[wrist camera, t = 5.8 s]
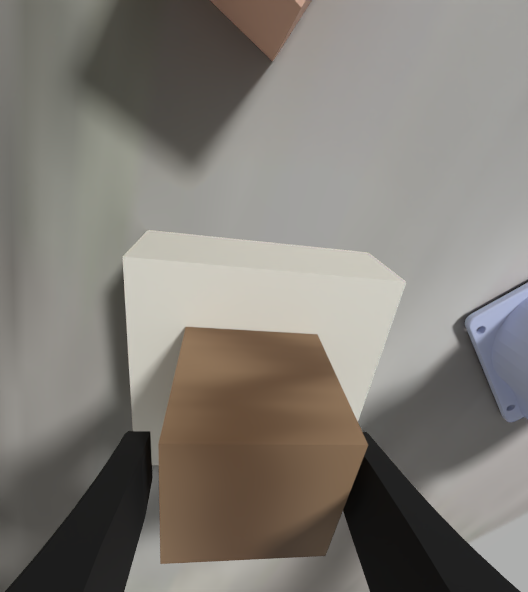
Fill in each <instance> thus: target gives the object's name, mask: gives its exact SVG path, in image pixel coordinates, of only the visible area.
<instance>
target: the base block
mask: <svg viewBox="0 0 528 592" xmlns="http://www.w3.org/2000/svg"><path fill="white" fill-rule="evenodd" d="M123 273H124V290H125V307H126V324H127V341H128V359H129V376H130V393H131V410H132V427H133V431H150V435H151V458H152V465H159V449H158V444H159V439H160V435H161V431H162V426H163V422H164V418H165V413H166V409H167V405H168V401H169V396H170V392H171V388H172V383H173V379H174V375H175V370H176V366H177V362H178V358H179V353H180V349H181V345H182V340H183V336H184V332H185V327H200V328H218V329H235V330H252V331H269V332H287V333H304V334H318V337H319V339H320V341H321V343H322V345H323V347H324V350H325V352H326V354H327V356H328V358H329V361H330V363H331V365H332V367H333V369H334V371H335V374H336V376H337V378H338V380H339V382H340V384H341V387H342V389H343V391H344V393H345V395H346V398H347V400H348V402H349V404H350V406H351V408H352V411H353V413H354V415H355V417H356V419H357V422H358V420H359V417H360V414H361V412H362V409H363V406H364V403H365V400H366V397H367V394H368V391H369V388H370V386H371V383H372V380H373V377H374V374H375V371H376V368H377V365H378V363H379V360H380V357H381V354H382V351H383V348H384V345H385V342H386V339H387V337H388V334H389V331H390V328H391V325H392V322H393V319H394V316H395V313H396V311H397V308H398V305H399V302H400V299H401V296H402V293H403V290H404V288H405V285H406V281H404V280H403V279H402V278H401V277H399V276H398V275H397V274H395V273H394V272H393V271H392V270H390V269H389V268H388V267H386V266H385V265H384V264H382V263H381V262H380V261H379V260H377V259H376V258H375V257H373V256H372V255H371V254H370V253H368V252H358V251H348V250H338V249H328V248H319V247H309V246H299V245H289V244H279V243H270V242H260V241H250V240H240V239H231V238H221V237H211V236H201V235H191V234H182V233H172V232H162V231H152V230H147V231H146V232H145V234H144V235H143V236H142V237H141V238H140V239H139V240H138V241H137V242H136V243H135V244H134V245H133V246H132V247H131V248H130V249H129V250H128V251H127V252H126V254H125V255H124V256H123Z"/></svg>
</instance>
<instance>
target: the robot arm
mask: <svg viewBox="0 0 528 592" xmlns="http://www.w3.org/2000/svg"><path fill="white" fill-rule="evenodd" d="M465 326H466V329H467V331H468V334H469V336H470V339H471V341H472V343H473V346H474V348H475V351H476V353H477V356H478V358H479V361H480V363H481V365H482V368H483V370H484V373H485V375H486V378H487V380H488V383H489V385H490V387H491V390H492V392H493V395H494V397H495V400H496V402H497V405H498V407H499V409H500V412H501V414H502V417H503V418H504V419H505V420H506V421H507V422H515V421H517V420H519V419H521V418H523V417H525V418H526V419H527V420H528V283H526V284H524V285H522V286H520V287H519V288H517V289H515V290H513V291H511V292H510V293H508V294H506V295H504V296H502V297H501V298H499V299H497V300H495V301H493V302H492V303H490V304H488V305H486V306H484V307H483V308H481V309H479V310H477V311H475V312H474V313H472V314H470V315H469V316H468V317H467V318H466V320H465ZM479 327H480V328H479ZM478 328H479V329H478ZM477 329H478V330H477ZM363 435H364V437H365V439H366V441H367V443H368V447H367V450H366V452H365V455H364V457H363V460H362V462H361V465H360V468H359V470H358V473H357V475H356V478H355V481H354V483H353V486H352V488H351V491H350V493H349V496H348V499H347V501H346V504H345V506H344V509H343V511H344V514H345V517H346V521H347V524H348V527H349V530H350V533H351V536H352V539H353V542H354V545H355V548H356V551H357V554H358V557H359V560H360V563H361V566H362V569H363V572H364V575H365V578H366V581H367V584H368V586H369V589H370V592H520V591H519V590H518V589H517V588H515V587H514V586H513V585H512V584H511V583H510V582H509V581H508V580H507V579H505V578H504V577H503V576H502V575H501V574H500V573H499V572H498V571H497V570H496V569H495V568H494V567H492V566H491V565H490V564H489V563H488V562H487V561H486V560H485V559H484V558H483V557H482V556H481V555H479V554H478V553H477V552H476V551H475V550H474V549H473V548H472V547H471V546H470V545H469V544H468V543H467V542H466V541H465V540H464V539H463V538H462V537H461V536H460V535H459V534H458V533H457V532H456V531H455V530H454V529H453V528H452V527H451V526H450V525H449V524H448V523H447V522H446V521H445V520H444V519H443V518H442V517H441V516H440V515H439V513H438V512H437V511H436V510H435V509H434V508H433V507H432V506H431V505H430V504H429V503H428V502H427V501H426V499H425V498H424V497H423V496H422V495H421V494H420V493H419V492H418V491H417V490H416V488H415V487H414V486H413V485H412V484H411V483H410V482H409V481H408V479H407V478H406V477H405V476H404V475H403V474H402V473H401V471H400V470H399V469H398V468H397V467H396V466H395V465H394V463H393V462H392V461H391V460H390V459H389V458H388V456H387V455H386V454H385V453H384V452H383V451H382V449H381V448H380V447H379V446H378V445H377V443H376V442H375V441H374V440H373V439H372V438H371V436H370V435H369V434H368V433H367V432H363ZM151 482H152V458H151V435H150V431H128V432H127V433H126V434H125V435H124V437H123V438H122V440H121V442H120V443H119V445H118V446H117V448H116V449H115V451H114V453H113V454H112V456H111V457H110V459H109V460H108V462H107V463H106V465H105V466H104V467H103V469H102V470H101V472H100V473H99V475H98V476H97V478H96V479H95V480H94V482H93V483H92V484H91V486H90V487H89V489H88V490H87V491H86V493H85V494H84V495H83V497H82V498H81V499H80V501H79V502H78V504H77V505H76V506H75V508H74V509H73V510H72V511H71V513H70V514H69V515H68V517H67V518H66V519H65V520H64V522H63V523H62V524H61V525H60V527H59V528H58V529H57V530H56V532H55V533H54V534H53V535H52V537H51V538H50V539H49V540H48V542H47V543H46V544H45V545H44V547H43V548H42V549H41V550H40V552H39V553H38V554H37V555H36V556H35V557H34V559H33V560H32V561H31V562H30V563H29V565H28V566H27V567H26V568H25V569H24V570H23V572H22V573H21V574H20V575H19V576H18V577H17V579H16V580H15V581H14V582H13V583H12V584H11V585H10V586H9V588H8V589H7V590H6V591H5V592H124V590H125V586H126V583H127V579H128V576H129V572H130V569H131V565H132V562H133V558H134V555H135V551H136V547H137V544H138V540H139V537H140V533H141V530H142V526H143V522H144V519H145V514H146V509H147V504H148V499H149V493H150V488H151Z"/></svg>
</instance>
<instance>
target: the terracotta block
mask: <svg viewBox="0 0 528 592" xmlns="http://www.w3.org/2000/svg"><path fill="white" fill-rule="evenodd" d="M210 1H211V2H212V3H213V4H214V5H215V6H216V7H217V8H218V9H219V10H220V11H221V12H222V13H223V14H224V15H225V16H226V17H228V18H229V19H230V20H231V21H232V22H233V23H234V24H235V25H236V26H237V27H238V28H239V29H240V30H241V31H242V32H243V33H244V34H245V35H246V36H247V37H248V38H249V39H250V40H251V41H252V42H253V43H254V44H255V45H256V46H257V47H258V48H259V49H260V50H261V51H262V52H264V53H265V54H266V55H267V56H268V57H269V58H270V59H271V60H272V61H273V60H274V59H275V57H276V56H277V54H278V52H279V51H280V49H281V48H282V46H283V45H284V43H285V42H286V40H287V38H288V37H289V35H290V34H291V32H292V31H293V29H294V27H295V26H296V24H297V23H298V21H299V20H300V18H301V16H302V15H303V13H304V12H305V10H306V9H307V7H308V6H309V4H310V2H311V1H312V0H210Z"/></svg>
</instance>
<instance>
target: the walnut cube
mask: <svg viewBox="0 0 528 592" xmlns="http://www.w3.org/2000/svg"><path fill="white" fill-rule="evenodd" d="M367 447H368V443H367V441H366V439H365V437H364V435H363V432H362V430H361V428H360V426H359V424H358V422H357V419H356V417H355V415H354V413H353V411H352V408H351V406H350V404H349V402H348V400H347V398H346V395H345V393H344V391H343V389H342V387H341V384H340V382H339V380H338V378H337V376H336V374H335V371H334V369H333V367H332V365H331V363H330V361H329V358H328V356H327V354H326V352H325V350H324V347H323V345H322V343H321V341H320V339H319V337H318V334H304V333H287V332H269V331H252V330H235V329H218V328H200V327H185V332H184V336H183V340H182V345H181V349H180V353H179V358H178V362H177V366H176V370H175V375H174V379H173V383H172V388H171V392H170V396H169V401H168V405H167V409H166V413H165V418H164V422H163V426H162V431H161V435H160V439H159V444H158V449H159V505H160V561H161V564H167V563H188V562H208V561H229V560H250V559H270V558H291V557H312V556H325V555H326V553H327V550H328V548H329V545H330V542H331V540H332V537H333V535H334V532H335V530H336V527H337V524H338V522H339V519H340V517H341V514H342V511H343V509H344V506H345V504H346V501H347V499H348V496H349V493H350V491H351V488H352V486H353V483H354V481H355V478H356V475H357V473H358V470H359V468H360V465H361V462H362V460H363V457H364V455H365V452H366V450H367Z"/></svg>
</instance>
